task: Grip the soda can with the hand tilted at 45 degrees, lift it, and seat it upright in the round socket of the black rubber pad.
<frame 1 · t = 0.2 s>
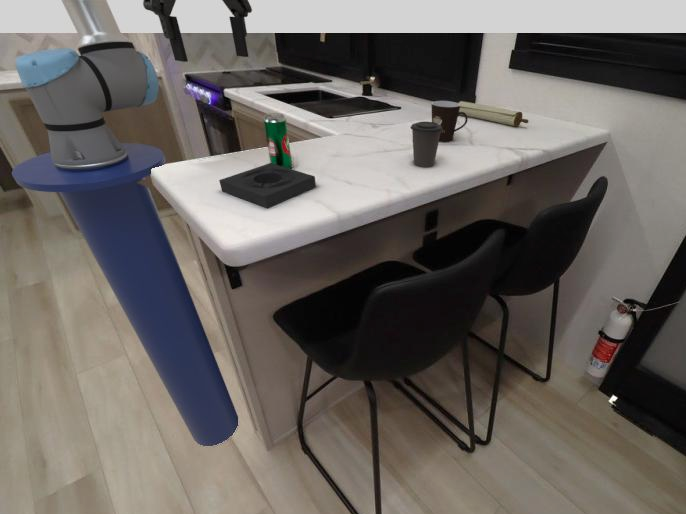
hand: (214, 58, 73), 23 cm above the table, tool pointing down, fingers open, 13 cm apart
coffee cup: (423, 164, 99), on the table
rolling pin: (486, 121, 140), on the table
coffee mug: (444, 141, 117), on the table
socket pad: (270, 189, 82), on the table
soda can: (282, 168, 93), on the table
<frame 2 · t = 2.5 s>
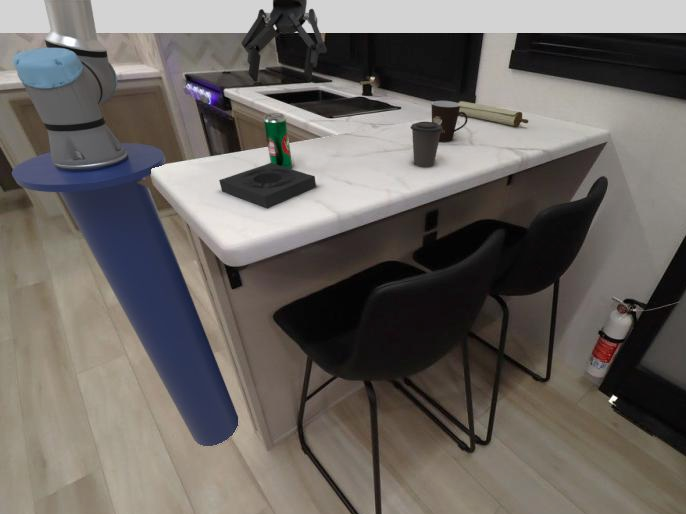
hand: (279, 78, 89), 18 cm above the table, tool tilted 45°, fingers open, 13 cm apart
nothing on the table moved.
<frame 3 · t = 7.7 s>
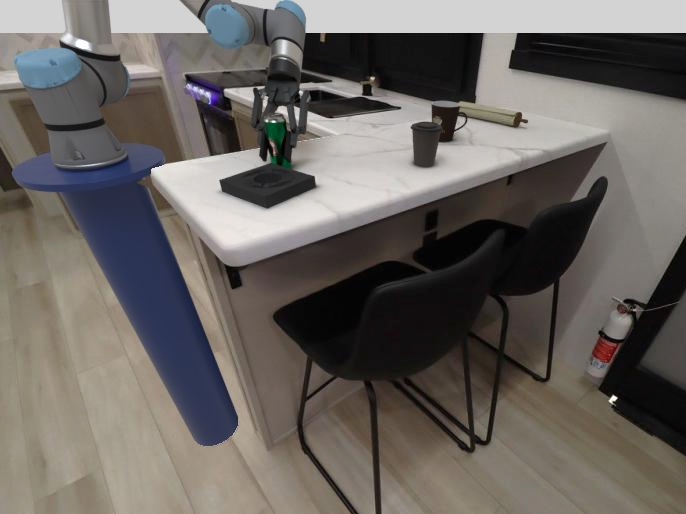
hand: (275, 159, 88), 3 cm above the table, tool tilted 45°, fingers closed on soda can, 5 cm apart
soda can: (282, 168, 93), on the table, touching gripper
everything else where it was.
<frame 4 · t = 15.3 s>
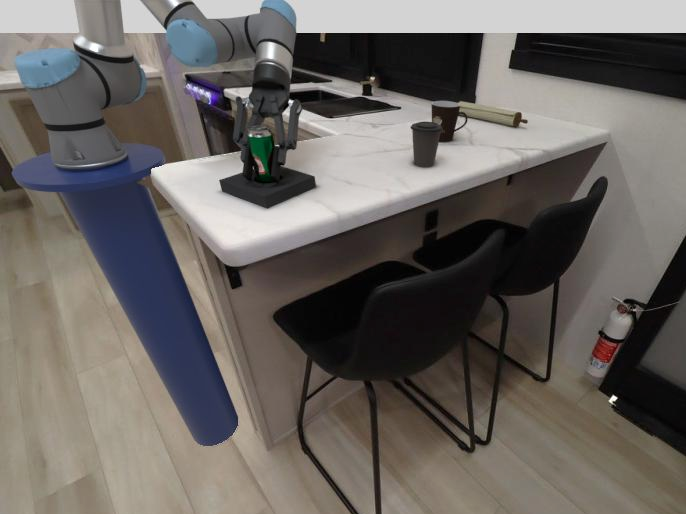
hand: (261, 178, 77), 4 cm above the table, tool tilted 45°, fingers closed on soda can, 5 cm apart
soda can: (270, 188, 82), resting in socket pad, touching gripper
everything else where it was.
when the fingers open (4 cm above the table, at t = 19.3 s): soda can stays where it is, resting in socket pad.
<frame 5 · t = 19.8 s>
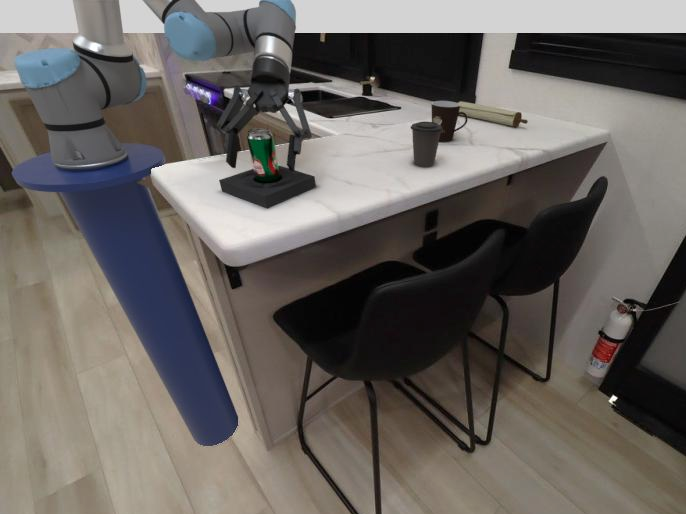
hand: (260, 166, 77), 6 cm above the table, tool tilted 45°, fingers open, 12 cm apart
soda can: (270, 189, 83), resting in socket pad
everything else where it was.
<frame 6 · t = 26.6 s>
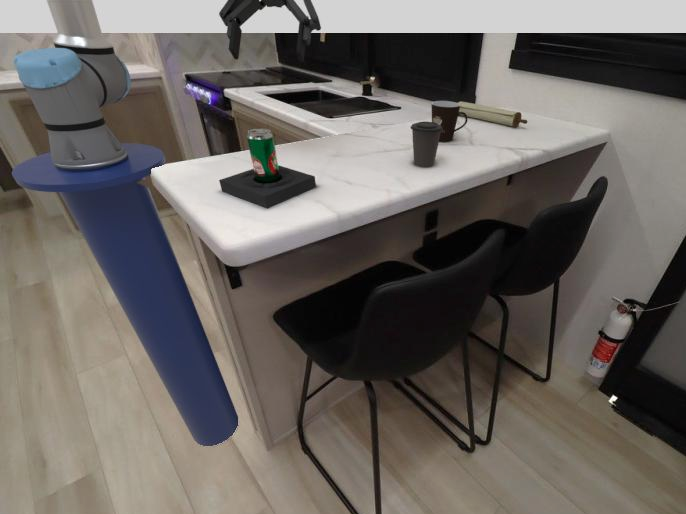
hand: (266, 56, 76), 24 cm above the table, tool tilted 45°, fingers open, 13 cm apart
nothing on the table moved.
at the end: soda can 0.1 cm off-centre in the socket pad, point 0.0 cm above the socket pad's base; soda can tilted 0°; the gripper is holding nothing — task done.
